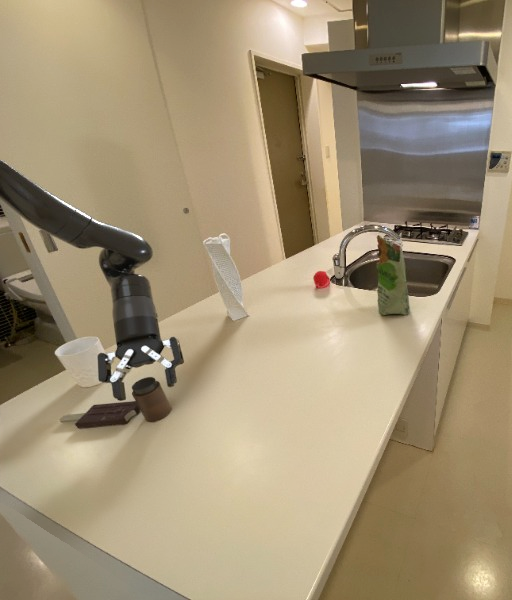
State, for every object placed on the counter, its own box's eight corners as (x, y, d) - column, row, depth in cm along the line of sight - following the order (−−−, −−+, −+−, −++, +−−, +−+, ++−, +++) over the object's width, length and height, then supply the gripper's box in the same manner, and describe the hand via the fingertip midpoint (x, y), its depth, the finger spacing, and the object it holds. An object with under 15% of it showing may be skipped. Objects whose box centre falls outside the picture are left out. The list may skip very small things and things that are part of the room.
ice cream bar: (52, 431, 67) (130, 424, 68) (48, 426, 66) (127, 418, 67) (72, 412, 71) (145, 405, 73) (68, 406, 71) (142, 400, 72)
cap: (331, 289, 125) (329, 274, 122) (316, 291, 123) (313, 277, 120) (329, 281, 132) (327, 267, 129) (313, 283, 130) (311, 269, 127)
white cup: (94, 391, 77) (74, 357, 73) (66, 387, 78) (44, 354, 74) (124, 369, 84) (107, 337, 79) (98, 366, 85) (80, 335, 81)
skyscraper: (254, 315, 108) (233, 232, 95) (231, 324, 103) (206, 238, 90) (244, 307, 113) (222, 228, 100) (222, 315, 108) (196, 233, 95)
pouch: (405, 321, 103) (404, 245, 91) (369, 317, 105) (364, 242, 94) (413, 305, 112) (413, 234, 101) (380, 301, 115) (377, 232, 103)
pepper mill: (140, 423, 68) (123, 392, 64) (152, 406, 72) (137, 376, 69) (164, 420, 69) (149, 390, 65) (175, 404, 73) (162, 374, 69)
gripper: (85, 324, 65) (94, 404, 61) (168, 307, 71) (181, 380, 67) (104, 333, 72) (113, 406, 68) (178, 317, 77) (191, 384, 74)
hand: (147, 393), depth 68 cm, fingers open, 8 cm apart
